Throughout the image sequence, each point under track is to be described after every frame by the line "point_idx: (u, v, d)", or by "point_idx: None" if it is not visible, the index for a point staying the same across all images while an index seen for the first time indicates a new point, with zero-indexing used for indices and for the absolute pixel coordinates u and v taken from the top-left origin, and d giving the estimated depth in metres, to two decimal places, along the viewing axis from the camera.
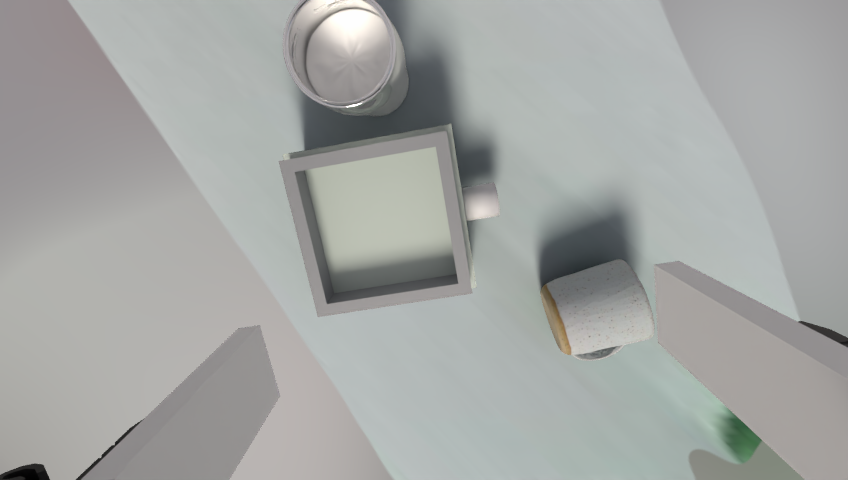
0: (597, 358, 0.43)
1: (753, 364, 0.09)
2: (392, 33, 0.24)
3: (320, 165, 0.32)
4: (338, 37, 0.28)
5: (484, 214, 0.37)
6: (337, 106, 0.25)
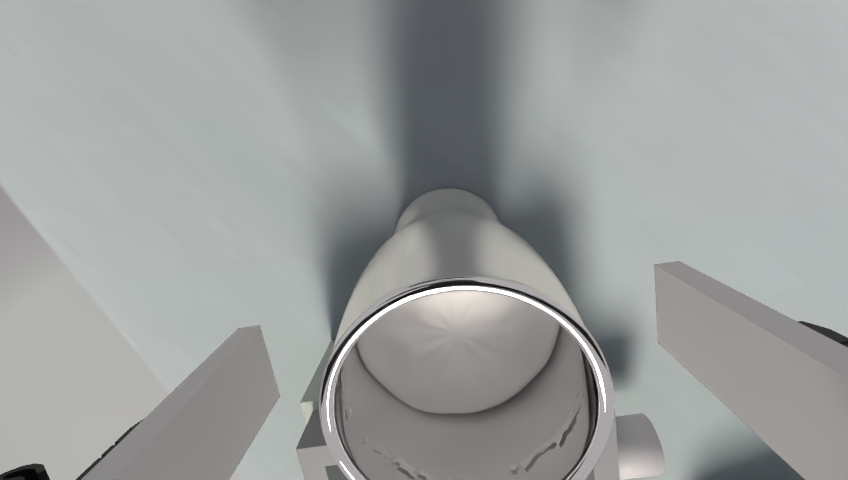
0: None
1: (753, 364, 0.09)
2: (610, 388, 0.09)
3: None
4: None
5: (635, 477, 0.22)
6: None
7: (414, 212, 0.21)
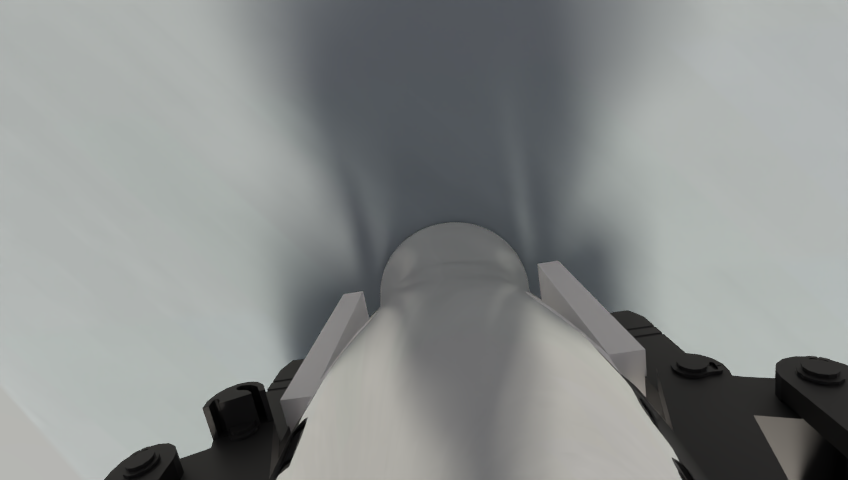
0: None
1: None
2: None
3: None
4: None
5: None
6: None
7: (406, 259, 0.15)
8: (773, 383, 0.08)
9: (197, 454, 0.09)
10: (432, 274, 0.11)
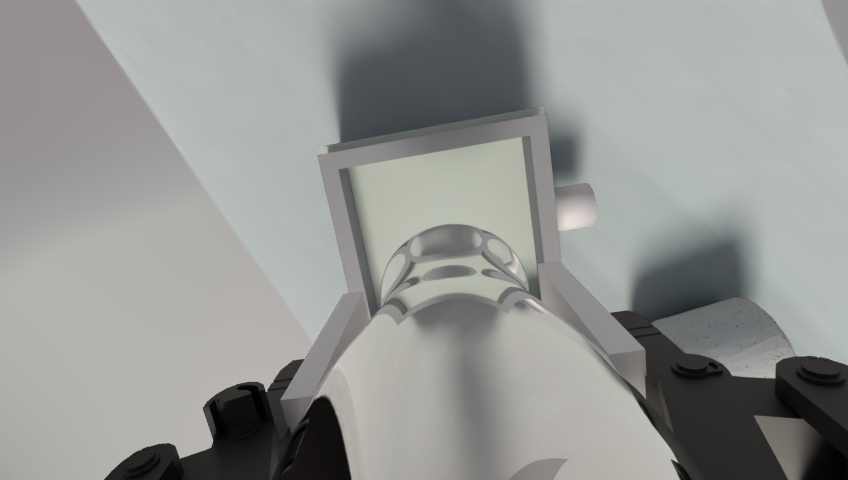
0: None
1: None
2: None
3: (373, 160, 0.24)
4: None
5: (576, 224, 0.28)
6: None
7: (407, 260, 0.15)
8: (773, 383, 0.08)
9: (197, 454, 0.09)
10: (432, 276, 0.11)
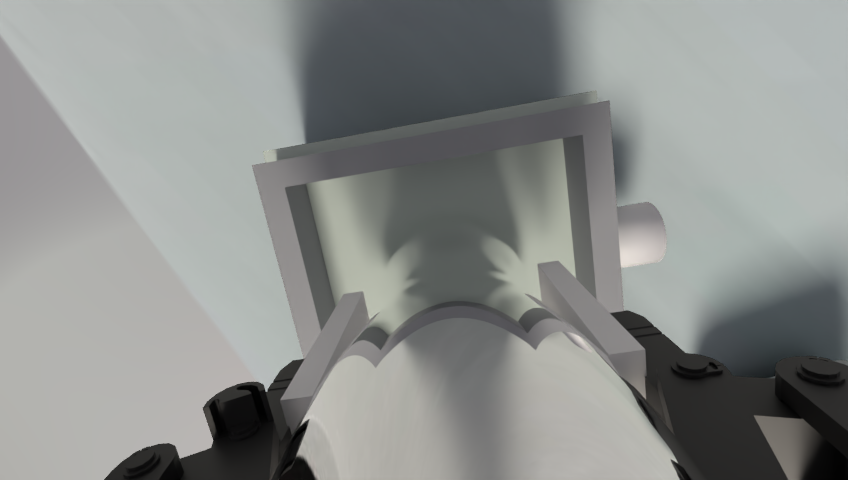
0: None
1: None
2: None
3: (339, 173, 0.15)
4: None
5: (634, 261, 0.20)
6: None
7: (407, 260, 0.15)
8: (773, 383, 0.08)
9: (197, 454, 0.09)
10: (432, 276, 0.11)
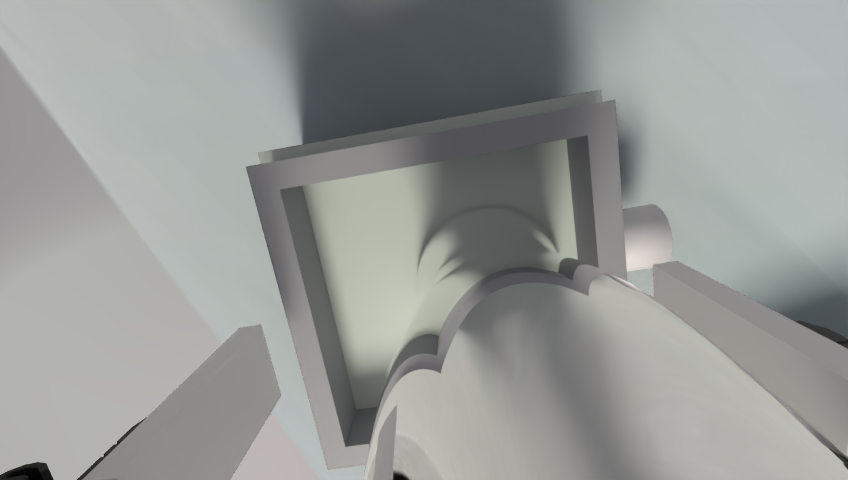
0: None
1: (750, 363, 0.09)
2: None
3: (335, 175, 0.15)
4: None
5: (640, 265, 0.19)
6: None
7: (450, 240, 0.16)
8: None
9: None
10: (488, 248, 0.12)
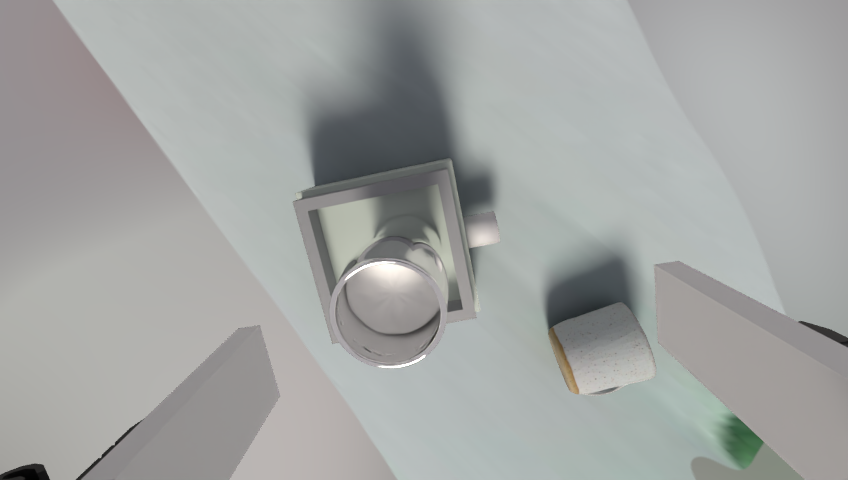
0: (604, 393, 0.46)
1: (753, 364, 0.09)
2: (443, 302, 0.23)
3: (331, 204, 0.35)
4: (380, 269, 0.27)
5: (485, 242, 0.39)
6: (385, 367, 0.24)
7: (383, 231, 0.35)
8: None
9: None
10: None
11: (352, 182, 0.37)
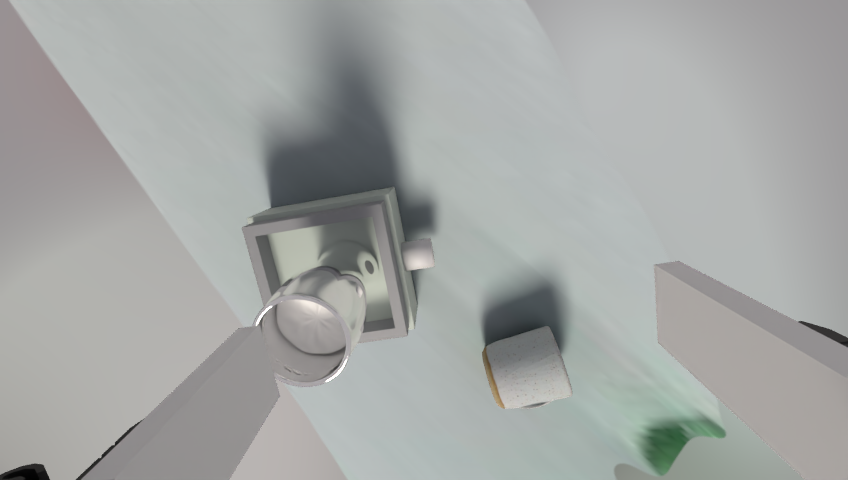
0: (534, 406, 0.50)
1: (753, 364, 0.09)
2: (347, 333, 0.27)
3: (276, 231, 0.38)
4: None
5: (421, 266, 0.43)
6: (299, 386, 0.28)
7: (324, 256, 0.39)
8: None
9: None
10: (323, 260, 0.35)
11: (298, 210, 0.40)
